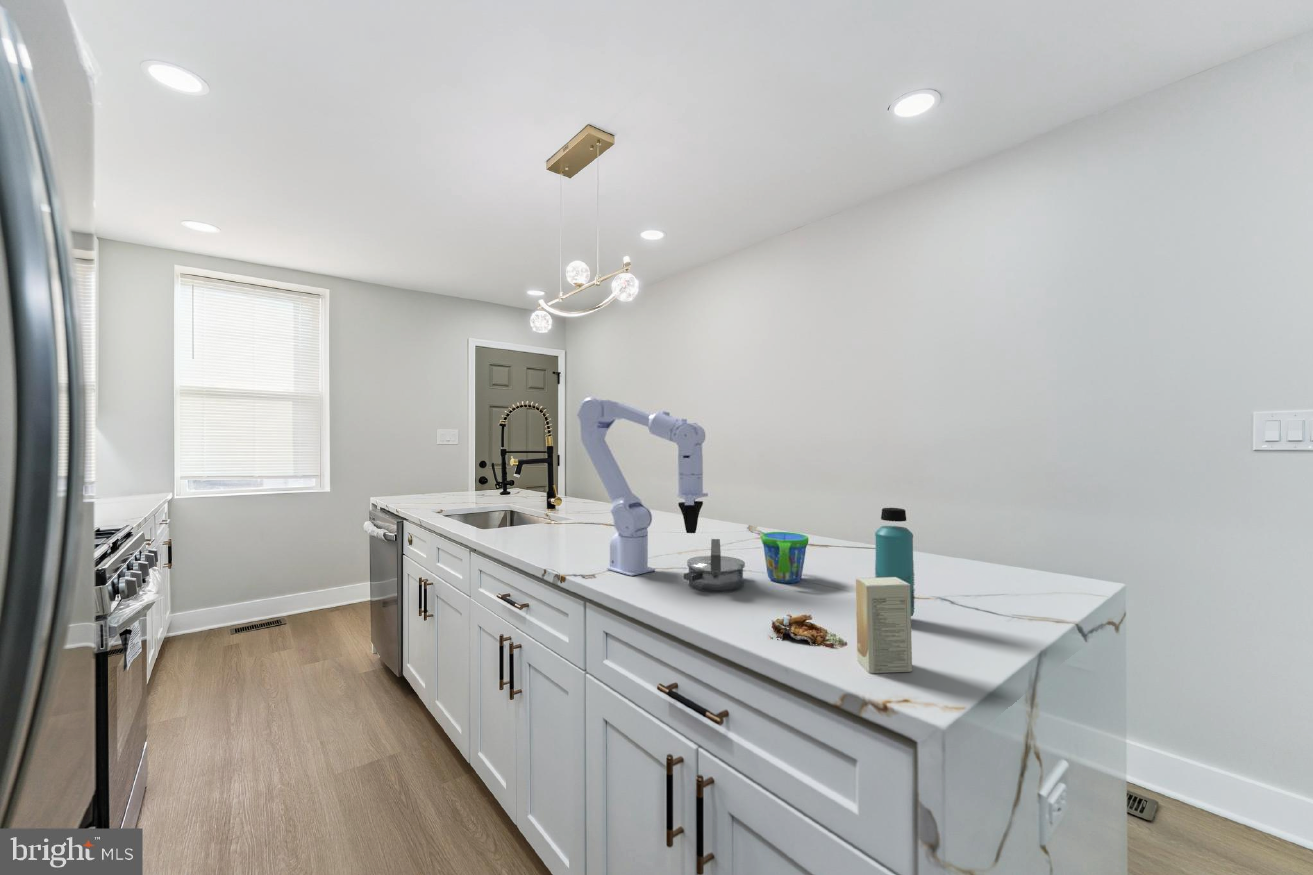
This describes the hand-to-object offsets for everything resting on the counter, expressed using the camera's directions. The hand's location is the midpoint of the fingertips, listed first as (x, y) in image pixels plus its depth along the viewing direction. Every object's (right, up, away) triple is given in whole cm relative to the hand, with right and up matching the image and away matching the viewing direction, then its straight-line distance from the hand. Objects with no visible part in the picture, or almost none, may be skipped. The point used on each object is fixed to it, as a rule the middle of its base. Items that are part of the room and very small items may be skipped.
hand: (691, 532), depth 125 cm
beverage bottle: (+34, -11, -30) cm, 47 cm away
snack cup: (+21, -11, -2) cm, 24 cm away
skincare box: (+24, -10, -49) cm, 56 cm away
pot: (+5, -10, -6) cm, 13 cm away
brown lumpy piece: (+16, -11, -38) cm, 43 cm away
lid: (+5, -6, -6) cm, 10 cm away
